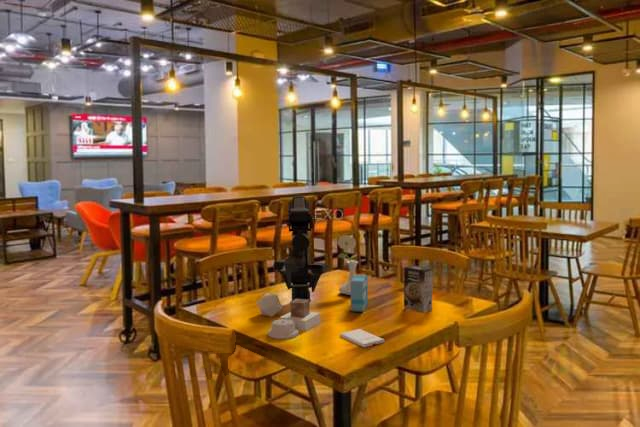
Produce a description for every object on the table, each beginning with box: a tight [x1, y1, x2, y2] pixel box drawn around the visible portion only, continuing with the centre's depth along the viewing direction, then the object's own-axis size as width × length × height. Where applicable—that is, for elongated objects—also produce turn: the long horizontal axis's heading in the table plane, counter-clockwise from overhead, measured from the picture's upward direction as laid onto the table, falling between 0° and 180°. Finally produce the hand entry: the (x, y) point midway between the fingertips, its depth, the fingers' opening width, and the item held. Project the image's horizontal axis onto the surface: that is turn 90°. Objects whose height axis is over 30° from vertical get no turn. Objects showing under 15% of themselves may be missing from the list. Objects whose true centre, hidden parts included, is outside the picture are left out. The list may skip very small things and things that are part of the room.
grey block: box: [279, 311, 321, 332], centre depth 190 cm, size 10×10×4 cm
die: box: [256, 292, 283, 318], centre depth 202 cm, size 8×9×10 cm
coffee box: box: [403, 264, 434, 314], centre depth 207 cm, size 9×6×16 cm
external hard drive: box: [339, 328, 385, 348], centre depth 175 cm, size 2×8×12 cm
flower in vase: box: [336, 234, 359, 296], centre depth 231 cm, size 13×11×25 cm
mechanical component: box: [267, 319, 300, 340], centre depth 180 cm, size 10×4×10 cm
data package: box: [350, 274, 369, 313], centre depth 209 cm, size 12×4×12 cm, turn 166°
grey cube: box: [289, 299, 311, 318], centre depth 189 cm, size 5×5×5 cm
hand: (300, 290), depth 191 cm, fingers open, 9 cm apart
